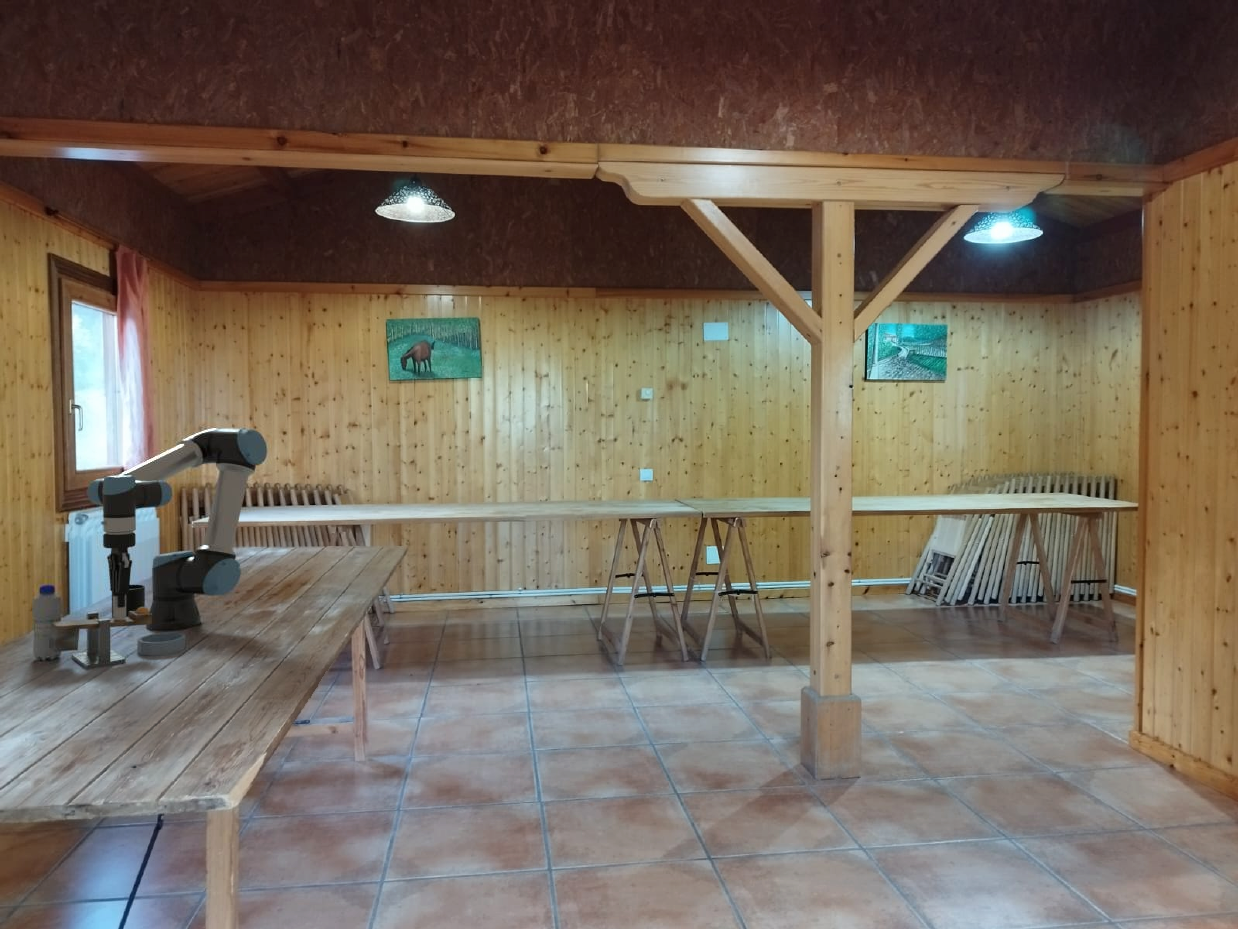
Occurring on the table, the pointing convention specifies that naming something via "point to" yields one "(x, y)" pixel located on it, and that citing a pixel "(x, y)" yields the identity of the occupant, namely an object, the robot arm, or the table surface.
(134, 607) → the mug
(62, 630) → the lever
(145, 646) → the bowl
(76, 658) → the fulcrum
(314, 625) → the table surface
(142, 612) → the ball
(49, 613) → the bottle
